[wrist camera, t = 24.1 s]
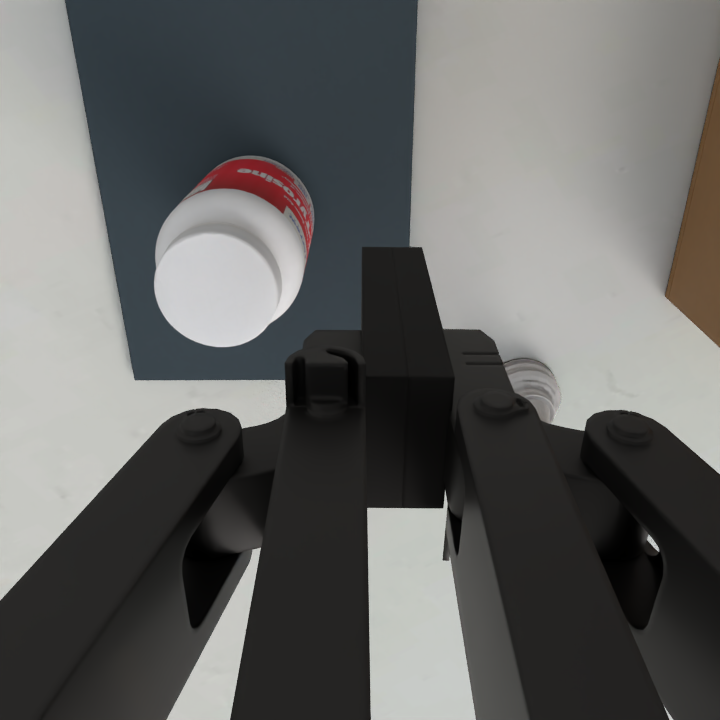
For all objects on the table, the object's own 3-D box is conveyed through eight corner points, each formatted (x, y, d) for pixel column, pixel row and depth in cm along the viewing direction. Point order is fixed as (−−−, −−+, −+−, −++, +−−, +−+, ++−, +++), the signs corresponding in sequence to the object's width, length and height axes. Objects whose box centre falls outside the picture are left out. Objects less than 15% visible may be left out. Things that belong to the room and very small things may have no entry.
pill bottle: (339, 221, 35) (331, 304, 25) (254, 291, 37) (216, 393, 27) (258, 125, 33) (214, 175, 23) (171, 204, 34) (97, 282, 25)
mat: (67, -5, 30) (63, -5, 30) (417, -6, 30) (417, -6, 30) (136, 376, 40) (134, 380, 39) (404, 375, 40) (404, 379, 39)
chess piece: (512, 432, 42) (554, 546, 33) (467, 389, 40) (499, 496, 31) (570, 390, 40) (629, 497, 31) (525, 343, 39) (575, 442, 30)
